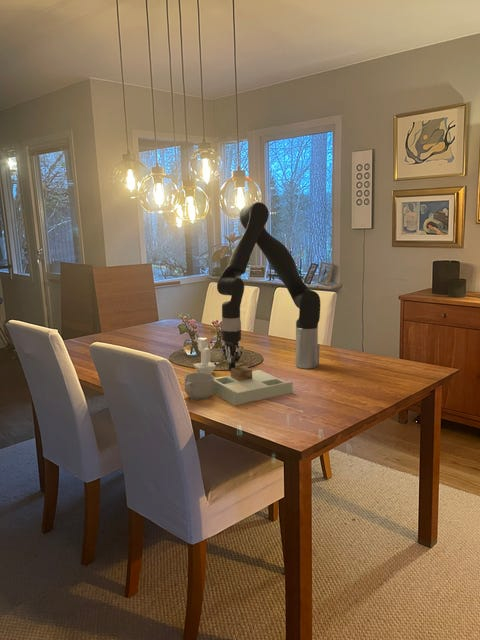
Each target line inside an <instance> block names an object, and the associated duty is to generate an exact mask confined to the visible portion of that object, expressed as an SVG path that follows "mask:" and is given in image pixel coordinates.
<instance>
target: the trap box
mask: <svg viewBox="0 0 480 640" xmlns="http://www.w3.org/2000/svg"><path fill="white" fill-rule="evenodd" d="M293 387H294V386H293V381H292V380H291V381H285V380H283V379H281V378H278V377H276V376H274V375H271V374H269V373H268V372H265V371H263V370H261V369H257V370H252V379H248V380H243V381H237V380H235V379H234V378H232V377H231V374H229V375H225V376H220V377H215V379H214V390H213V393H212V394H215V395H216V396H218V397H219V398H220V399H223V400H225V401H226V402H228V403H230V404H231V405H233V406H238V405H243V404H246V403H250V402H257V401H260V400H265V399H269V398H275V397H278V396H283V395H288V394H293V390H294V389H293Z"/></svg>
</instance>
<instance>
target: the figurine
mask: <svg viewBox="0 0 480 640" xmlns="http://www.w3.org/2000/svg"><path fill="white" fill-rule="evenodd" d="M197 349H198V350H199V351H200V362H198V363H193V366H194V368H195V370H196V372H202V373H209V374H211V375H213V372H214V371H215V368H216V367H217V366H216V365H215V364H214V363H212V362H211V358H212V357H211V355H212V354H211V350H210V348H209V342H208V338H207V337H198V338H197Z"/></svg>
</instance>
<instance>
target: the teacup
mask: <svg viewBox="0 0 480 640" xmlns="http://www.w3.org/2000/svg"><path fill="white" fill-rule="evenodd" d="M215 378H216V377H215V376H214V375H213V374H209V373H202V372H197V371H196V372H191V373H190V372H189V373H187V374H185V375H184V392H185V394H186V395H187V396H188V397H189V398H190V399H192V400H195V401H196V400H197V401H203V400H207V399H209V397H211V396H212V395H213V394H214V393H213V390H214V379H215Z"/></svg>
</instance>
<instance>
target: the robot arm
mask: <svg viewBox="0 0 480 640" xmlns="http://www.w3.org/2000/svg"><path fill="white" fill-rule="evenodd" d="M269 215H270V212H269V209H268V207H267V205H266V204H265V203H263V202H260V201H259V202H258V201H257V202H254V203H253V202H252V203H251V204H248V205H246V206H244V207H242V208H241V209H240V210H239V214H238V218H239V221H240V223H241V225H242V227H243V228H244V230H245V231H244V232H243V234H242V236H241V238H240V239H239V240H238V242H237V244H236V245H235V247H234V249H233V251H232V254H231V256H230V259H229V262H228V264H227V265H226V267H225V269H224V271H223V272H222V273H221V275H220V276H219V278H218V280H217V283H216V289H217V292H218V293H219V294H220V295H222V296H231V297H230V300H229V301H228V300H227V301H224V302H223V303H222V304H221V341H222V342H224V344H223V345H221V349H222V350H221V351H222V352H223V356H224V358H225V360H227V361H226V362H228V372H230V373H231V368H236V363H238V362H239V361H240V359H241V357H242V355H243V351H242V350H240V348H239V347H240V345H239V342H241V340H242V321H241V304H242V300H243V296H244V291H245V283H244V281H243V280H242V278H240V277H238V276H242V275H243V274H244V273H246V271H247V268H248V264H249V262H250V258H251V255H252V253H253V250H254V248H255V246H256V245H257V246H258V248H259V249H260V251H261V252H262V254H263V255H264V256H265V258H266V260H267V261H268V263H269V265H270V266H271V268H272V270H274V272H275V274H276V275H277V276H278V278H279V279H280V280H281V282H282V283H283V284H284V286H285V287H286V290H288V293H289V295H290V297H291V299H292V301H293V303H294V305H295V306H296V307H297V308H298V309H299V311H298V312H299V314H298V319H296V320H295V367H297V368H299V369H309V370H310V369H315V368H317V367H320V344H319V336H318V335H319V322H320V319H321V297H320V295H319V293H318V292H317V291H316V290H315V291H314V290H313V289H310V288H309V287H308V286H307V285H306V284H305V282H304V281H303V279H302V277H301V276H300V275H299V272H298V268H297V265H296V262H295V259H294V258H293V256H292V254H291V253H290V251H289V250H288V248H287V247H286V246H285V244H284V243H282V242H280V241H279V240H278V239H276V238H275V237H274V236H272V235H271V234H270V233H269V231H267V230H266V228H265V226H266V224H267V222H268V220H269V217H270V216H269Z"/></svg>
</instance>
